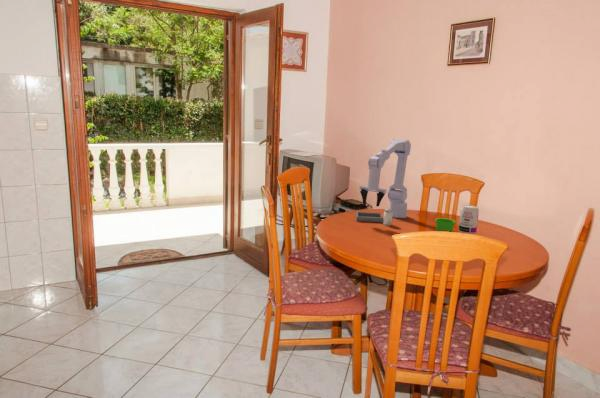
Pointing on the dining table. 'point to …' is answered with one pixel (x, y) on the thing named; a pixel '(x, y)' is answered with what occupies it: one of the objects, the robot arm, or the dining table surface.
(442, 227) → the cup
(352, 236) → the dining table surface
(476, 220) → the supplement can
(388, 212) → the shaker
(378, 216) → the tray
